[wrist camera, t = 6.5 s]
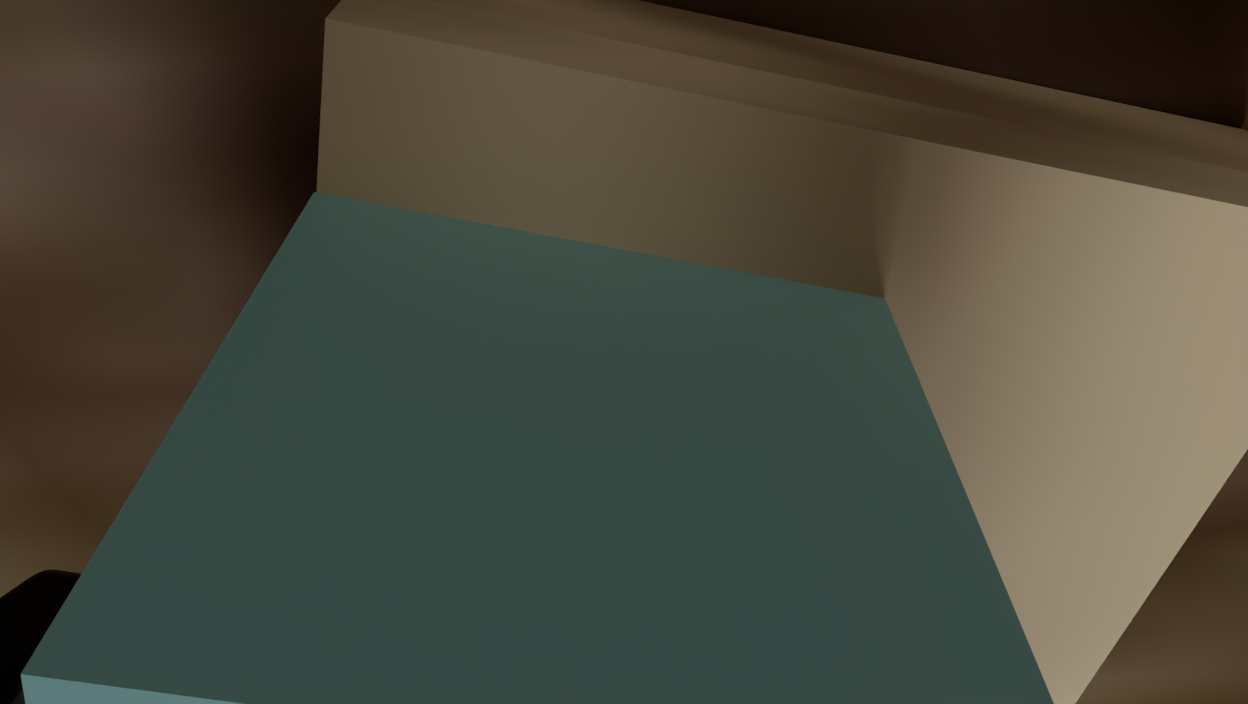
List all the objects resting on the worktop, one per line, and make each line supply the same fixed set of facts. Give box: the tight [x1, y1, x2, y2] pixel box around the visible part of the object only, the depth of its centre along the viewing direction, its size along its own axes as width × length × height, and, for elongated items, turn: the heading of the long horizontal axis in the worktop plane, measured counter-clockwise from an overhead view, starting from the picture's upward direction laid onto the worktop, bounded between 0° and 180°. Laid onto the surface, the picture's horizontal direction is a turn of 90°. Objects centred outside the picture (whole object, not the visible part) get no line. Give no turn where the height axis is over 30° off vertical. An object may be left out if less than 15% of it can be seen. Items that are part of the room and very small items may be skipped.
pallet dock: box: [316, 0, 1248, 704], centre depth 14 cm, size 9×16×2 cm, turn 168°
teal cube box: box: [21, 192, 1054, 704], centre depth 8 cm, size 5×5×5 cm
